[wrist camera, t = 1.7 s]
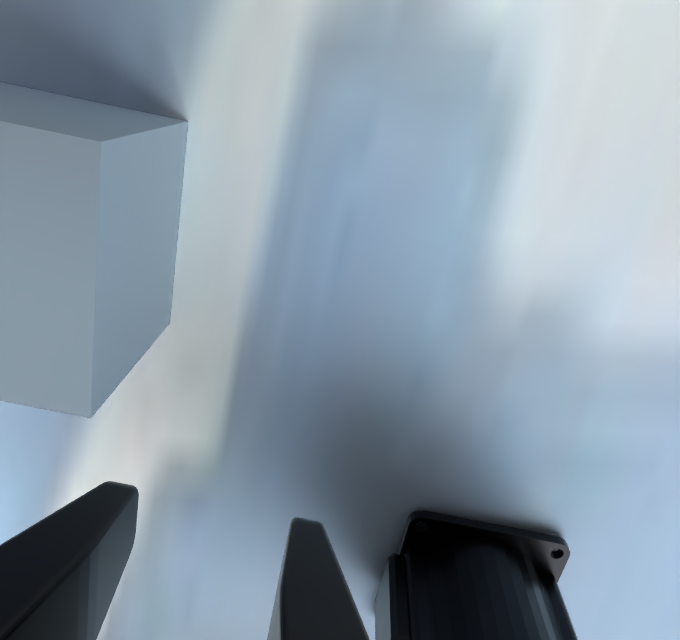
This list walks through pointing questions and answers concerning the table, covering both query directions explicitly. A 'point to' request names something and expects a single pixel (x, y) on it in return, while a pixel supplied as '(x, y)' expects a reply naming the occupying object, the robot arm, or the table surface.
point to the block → (83, 244)
